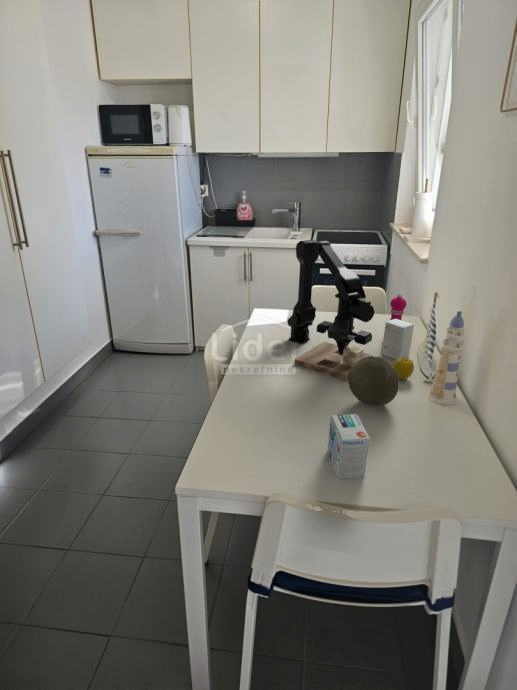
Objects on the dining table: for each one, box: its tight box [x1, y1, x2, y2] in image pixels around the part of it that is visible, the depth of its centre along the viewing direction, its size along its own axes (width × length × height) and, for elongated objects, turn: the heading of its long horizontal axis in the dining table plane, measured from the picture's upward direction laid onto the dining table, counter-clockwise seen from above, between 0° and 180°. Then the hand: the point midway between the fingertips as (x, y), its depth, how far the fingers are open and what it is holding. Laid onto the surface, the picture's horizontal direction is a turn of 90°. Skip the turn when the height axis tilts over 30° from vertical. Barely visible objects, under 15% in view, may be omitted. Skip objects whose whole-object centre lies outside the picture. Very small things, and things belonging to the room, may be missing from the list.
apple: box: [392, 357, 415, 380], centre depth 149 cm, size 6×6×8 cm
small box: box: [381, 319, 415, 361], centre depth 166 cm, size 8×6×13 cm
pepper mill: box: [389, 293, 407, 321], centre depth 177 cm, size 7×7×20 cm
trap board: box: [294, 341, 374, 381], centre depth 161 cm, size 20×21×2 cm
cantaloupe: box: [347, 356, 400, 407], centre depth 131 cm, size 14×14×15 cm
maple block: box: [343, 345, 365, 366], centre depth 156 cm, size 5×5×5 cm
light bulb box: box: [326, 413, 371, 479], centre depth 106 cm, size 11×7×11 cm, turn 5°
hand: (341, 354), depth 159 cm, fingers closed
